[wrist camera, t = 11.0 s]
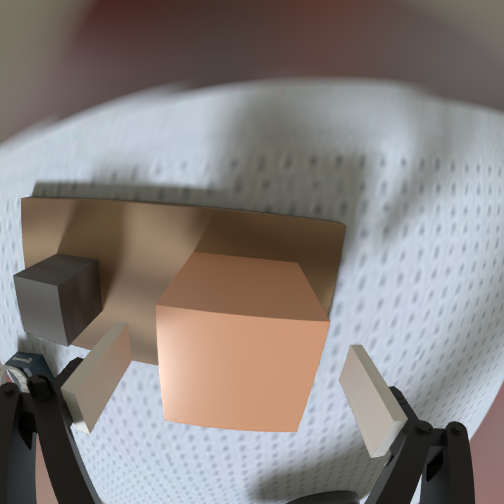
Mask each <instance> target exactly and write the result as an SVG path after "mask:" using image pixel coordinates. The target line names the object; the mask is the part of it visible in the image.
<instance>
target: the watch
mask: <svg viewBox="0 0 504 504" xmlns="http://www.w3.org/2000/svg"><path fill="white" fill-rule="evenodd" d="M6 370H8V372H9V373H10V375H11V377H12V379H13V381H14V382H15V384H17V385H18V387H19V389H20V391H21V392H26V393H30V392H29V390H28V387H27V385H26V383H27V380H28V378H29V377H31V376H32V375H35V374H45V375H48V376H49V377H50V378H51V380H52V382H53V381H54V380H55V379H54V377H53V375H52V373H51V371H50V369H49V367H48V365H47V363H46V361H45V359H44V357H43V355H40V354H30V353H22V352H17V353H16V354H15V355H13V356H12V357H11V358H10V359H9V360H8V361H7V362H6V363H5V365H0V386H1V385H2V384H4V383H6V382H5V378H6V375H7V371H6Z"/></svg>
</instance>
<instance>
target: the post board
mask: <svg viewBox="0 0 504 504" xmlns="http://www.w3.org/2000/svg"><path fill="white" fill-rule="evenodd" d="M21 222H22V241H23V253H24V262H25V270H23V271H21V272H19V273H17V274H15V275H13V278H14V284H15V290H16V295H17V301H18V305H19V310H20V315H21V319H22V323H23V327H24V331H25V332H26V333H29V334H32V335H34V336H37V337H40V338H43V339H46V340H49V341H52V342H55V343H58V344H61V345H64V346H67V347H69V345H70V344H71V345H74V346H78V347H81V348H85V349H88V350H92V349H93V348H94V346H95V345H96V344H97V343H98V342H99V341H100V339H101V338H102V337H103V336H104V335H105V334H106V332H107V331H108V330H109V329H110V328H111V327H112V325H113V324H114V323H115V322H116V321H121V322H126V323H128V328H129V339H130V348H131V357H132V360H133V361H138V362H143V363H148V364H153V365H159V362H158V348H157V328H156V303H157V302H158V301H159V299H160V298H161V296H162V295H163V293H164V292H165V290H166V289H167V288H168V286H169V285H170V283H171V282H172V281H173V279H174V278H175V276H176V275H177V273H178V272H179V271H180V269H181V268H182V266H183V265H184V264H185V262H186V261H187V260H188V258H189V257H190V255H191V254H192V253H193V252H201V253H210V254H219V255H229V256H238V257H247V258H257V259H267V260H276V261H286V262H295V263H298V264H299V266H300V268H301V269H302V271H303V273H304V275H305V277H306V278H307V280H308V282H309V284H310V286H311V287H312V289H313V291H314V293H315V295H316V296H317V298H318V300H319V302H320V304H321V306H322V307H323V309H324V311H325V313H326V315H327V317H328V313H329V309H330V305H331V300H332V296H333V291H334V287H335V282H336V277H337V272H338V267H339V262H340V257H341V252H342V246H343V241H344V235H345V229H346V225H344V224H342V223H341V222H335V221H328V220H321V219H313V218H306V217H298V216H290V215H282V214H274V213H265V212H256V211H247V210H238V209H228V208H218V207H207V206H196V205H185V204H173V203H160V202H146V201H131V200H114V199H94V198H69V197H25V198H21Z"/></svg>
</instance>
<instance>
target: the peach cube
mask: <svg viewBox="0 0 504 504" xmlns="http://www.w3.org/2000/svg"><path fill="white" fill-rule="evenodd" d="M329 325H330V320H329V319H328V317H327V315H326V313H325V311H324V309H323V307H322V306H321V304H320V302H319V300H318V298H317V296H316V295H315V293H314V291H313V289H312V287H311V286H310V284H309V282H308V280H307V278H306V277H305V275H304V273H303V271H302V269H301V268H300V266H299V264H298V263H295V262H286V261H276V260H267V259H257V258H247V257H238V256H229V255H219V254H210V253H201V252H193V253H192V254H191V255H190V257H189V258H188V260H187V261H186V262H185V264H184V265H183V266H182V268H181V269H180V271H179V272H178V273H177V275H176V276H175V278H174V279H173V281H172V282H171V283H170V285H169V286H168V288H167V289H166V290H165V292H164V293H163V295H162V296H161V298H160V299H159V301H158V302H157V303H156V328H157V348H158V362H159V375H160V385H161V395H162V404H163V412H164V420H166V421H172V422H177V423H183V424H190V425H196V426H204V427H212V428H221V429H231V430H244V431H263V432H297V430H298V427H299V424H300V421H301V418H302V416H303V413H304V410H305V407H306V404H307V401H308V398H309V395H310V392H311V388H312V385H313V382H314V379H315V375H316V372H317V369H318V365H319V362H320V358H321V355H322V351H323V348H324V344H325V340H326V337H327V333H328V329H329Z"/></svg>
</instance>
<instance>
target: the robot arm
mask: <svg viewBox="0 0 504 504" xmlns="http://www.w3.org/2000/svg"><path fill="white" fill-rule="evenodd" d="M131 361H132V357H131V348H130V339H129V328H128V323H126V322H121V321H116V322H115V323H114V324H113V325H112V327H111V328H110V329H109V330H108V331H107V332H106V334H105V335H104V336H103V337H102V338H101V339H100V341H99V342H98V343H97V344H96V345H95V346H94V348H93V349H92V350H91V351H90V352H89V354H88V355H87V356H86V357H85V359H82V358H79V357H77V358H75V359H74V360H72V361H70V362H69V363H68V365H67V366H66V367H65V368H64V369H63V370H62V372H61V373H60V374H59V375H58V376H57V377H56V379H55V380H54V381H53V382H52V380H51V378H50V377H49V376H48V375H45V374H35V375H32V376H31V377H29V378H28V380H27V383H26V385H27V387H28V390H29V392H30V393H26V392H21V391H20V389H19V387H18V385H17V384H15V383H12V382H7V383H4V384H2V385H1V386H0V504H37V503H36V485H35V457H36V436H37V433H38V436H39V441H40V445H41V449H42V453H43V457H44V461H45V464H46V468H47V471H48V475H49V478H50V481H51V484H52V487H53V490H54V493H55V496H56V498H57V501H58V503H59V504H102V502H101V500H100V498H99V496H98V494H97V492H96V490H95V488H94V486H93V484H92V482H91V479H90V477H89V475H88V473H87V470H86V468H85V465H84V463H83V461H82V458H81V455H80V453H79V450H78V448H77V445H76V442H75V439H74V436H73V433H72V430H71V428H70V426H71V425H72V423H73V422H74V425H75V427H76V429H77V430H80V431H82V432H85V433H88V434H90V433H91V431H92V430H93V428H94V426H95V424H96V422H97V420H98V419H99V417H100V415H101V413H102V411H103V410H104V408H105V406H106V404H107V402H108V401H109V399H110V397H111V395H112V394H113V392H114V390H115V388H116V387H117V385H118V383H119V382H120V380H121V378H122V376H123V375H124V373H125V371H126V370H127V368H128V366H129V365H130V363H131ZM339 382H340V384H341V386H342V389H343V391H344V393H345V396H346V398H347V401H348V403H349V405H350V408H351V410H352V413H353V415H354V418H355V420H356V422H357V425H358V427H359V430H360V432H361V435H362V437H363V440H364V442H365V445H366V447H367V450H368V452H369V455H370V457H371V458H375V457H380V456H384V455H385V454H386V452H387V451H388V450H389V449H390V451H391V453H392V454H391V456H390V457H389V458H388V460H387V461H386V462H385V464H384V465H383V466H384V469H383V471H382V473H381V475H380V477H379V479H378V480H377V482H376V484H375V486H374V488H373V490H372V491H371V493H370V495H369V496H368V498H367V500H366V502H365V503H364V504H410V502H411V500H412V498H413V495H414V493H415V490H416V488H417V485H418V482H419V479H420V477H421V474H422V481H421V494H420V504H475V492H474V479H473V468H472V460H471V453H470V445H469V439H468V433H467V429H466V427H465V426H464V425H463V424H461V423H460V422H456V421H453V422H450V423H448V425H447V426H446V428H445V429H439V428H433V427H432V425H431V424H429V423H428V422H426V421H422V420H419V419H418V418H417V416H416V414H415V413H414V411H413V410H412V408H411V407H410V405H409V404H408V402H407V400H406V399H405V397H404V396H403V394H402V393H401V391H399V390H398V389H397V388H396V387H394V386H391V387H388V385H387V384H386V382H385V381H384V379H383V377H382V376H381V374H380V373H379V371H378V369H377V368H376V366H375V365H374V363H373V362H372V360H371V358H370V357H369V355H368V354H367V352H366V351H365V349H364V348H363V346H362V345H350V348H349V351H348V354H347V357H346V361H345V364H344V367H343V370H342V373H341V375H340V378H339ZM288 504H360V502H359V499H358V495H357V494H356V493H353V492H347V491H340V492H330V493H323V494H318V495H313V496H309V497H305V498H302V499H298V500H296V501H293V502H290V503H288Z"/></svg>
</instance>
